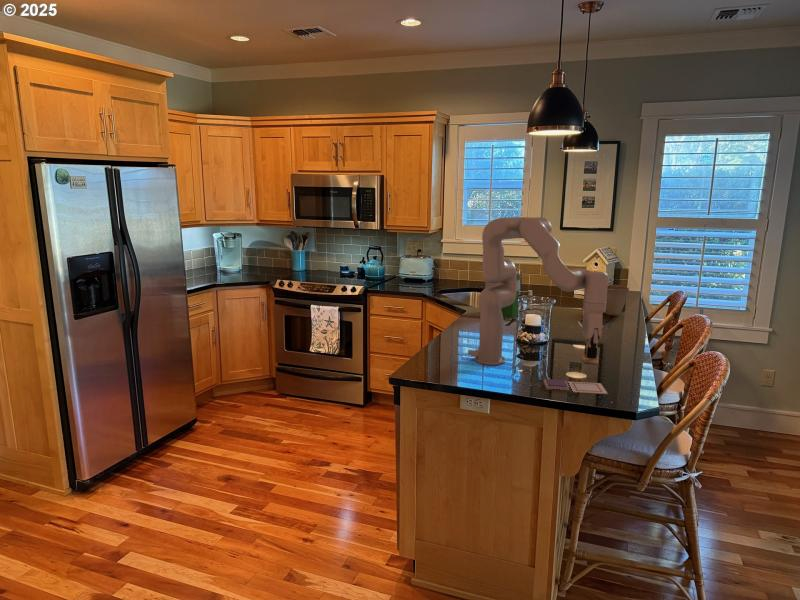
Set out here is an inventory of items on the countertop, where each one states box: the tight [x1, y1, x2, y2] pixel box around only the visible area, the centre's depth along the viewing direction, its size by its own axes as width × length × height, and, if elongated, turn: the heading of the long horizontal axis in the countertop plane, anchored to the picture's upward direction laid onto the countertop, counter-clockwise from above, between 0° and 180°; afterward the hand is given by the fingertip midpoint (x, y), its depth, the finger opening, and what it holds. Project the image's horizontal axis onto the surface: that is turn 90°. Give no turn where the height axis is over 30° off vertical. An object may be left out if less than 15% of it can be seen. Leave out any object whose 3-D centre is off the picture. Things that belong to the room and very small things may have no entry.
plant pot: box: [604, 284, 630, 316], centre depth 306 cm, size 15×15×16 cm
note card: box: [567, 381, 608, 395], centre depth 192 cm, size 12×10×1 cm
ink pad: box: [543, 378, 570, 391], centre depth 193 cm, size 8×7×2 cm
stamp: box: [581, 337, 600, 366], centre depth 189 cm, size 5×4×12 cm
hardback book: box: [484, 273, 521, 319], centre depth 300 cm, size 18×7×24 cm, turn 52°
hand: (590, 355), depth 190 cm, fingers closed on stamp, 3 cm apart
